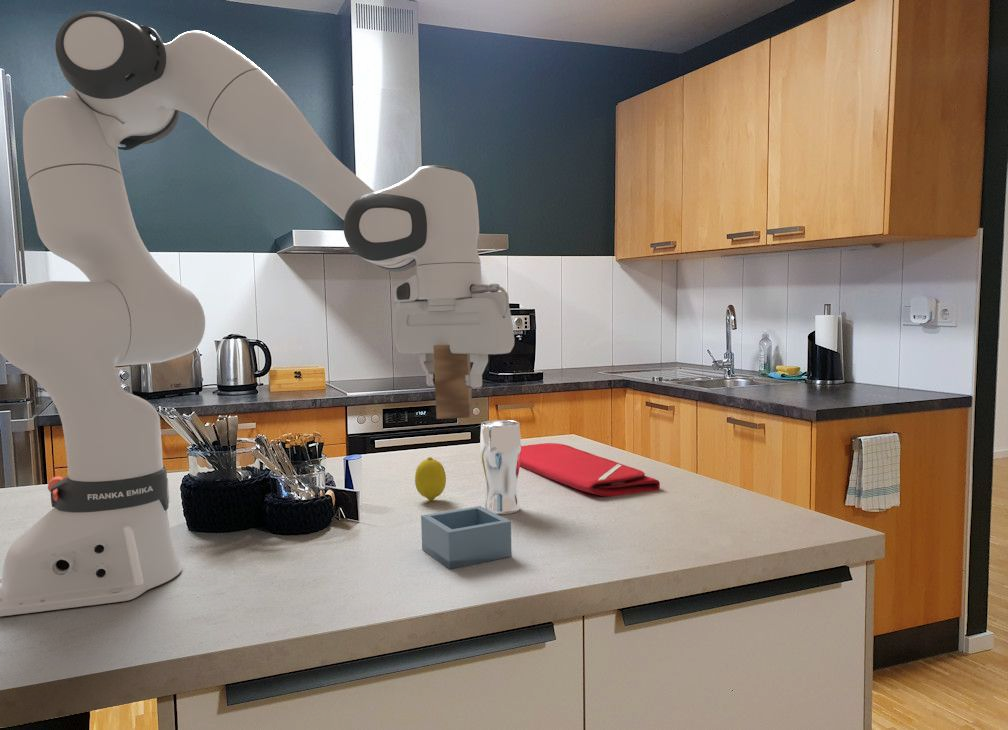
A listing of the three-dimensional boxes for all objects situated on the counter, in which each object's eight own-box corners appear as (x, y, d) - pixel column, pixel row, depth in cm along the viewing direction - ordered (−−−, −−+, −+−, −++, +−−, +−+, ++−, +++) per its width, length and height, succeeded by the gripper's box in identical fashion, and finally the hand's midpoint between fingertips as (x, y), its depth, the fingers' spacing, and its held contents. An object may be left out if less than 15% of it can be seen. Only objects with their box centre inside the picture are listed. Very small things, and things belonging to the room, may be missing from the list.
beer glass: (508, 517, 125) (506, 427, 123) (473, 512, 128) (471, 424, 127) (529, 507, 130) (528, 421, 129) (495, 502, 134) (493, 418, 133)
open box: (449, 569, 101) (448, 532, 100) (422, 549, 109) (421, 515, 109) (511, 556, 105) (510, 521, 105) (480, 538, 114) (480, 505, 113)
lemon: (441, 505, 133) (440, 460, 132) (411, 504, 134) (410, 460, 133) (450, 497, 138) (448, 454, 138) (421, 496, 139) (419, 453, 139)
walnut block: (436, 418, 103) (433, 345, 103) (440, 414, 108) (437, 344, 107) (469, 417, 103) (466, 344, 102) (472, 413, 108) (469, 343, 107)
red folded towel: (561, 453, 179) (561, 438, 178) (662, 492, 141) (662, 472, 141) (500, 460, 172) (499, 444, 172) (588, 502, 135) (588, 482, 135)
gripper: (522, 282, 100) (526, 386, 101) (416, 289, 113) (420, 381, 114) (490, 282, 95) (494, 391, 96) (384, 290, 108) (388, 386, 109)
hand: (453, 386), depth 105 cm, fingers closed on walnut block, 6 cm apart
